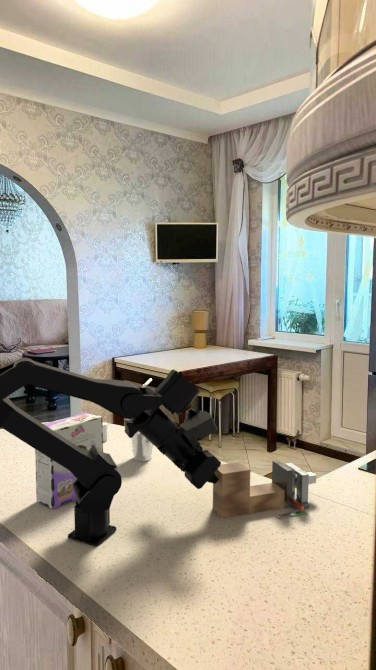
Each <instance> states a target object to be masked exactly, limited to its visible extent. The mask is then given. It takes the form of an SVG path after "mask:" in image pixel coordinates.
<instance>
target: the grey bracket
mask: <svg viewBox="0 0 376 670" xmlns="http://www.w3.org/2000/svg"><path fill="white" fill-rule="evenodd" d="M271 465H272V467H271V468H272V469H271V471H272V472H271V483H275V484H276V485H278V486H279V487H280V488H282V489H283V490H284V491H285V504H289V503H291V502H292V503H293V504H295V505H296V506H297V507H298V508H300V509H299V510H300V511H301V510H305V508H304V506H303V505H302V504H300V503H299V502H298V501H296V500H295V499H292V487H295V488H296V487H297V475H296V474H294V475H293V470H292V469H290V468H289V467H287V466H286V465H285V463H284V462H281V461H279V459H276V460H275V459H274V460H272V464H271ZM307 473H308V474H309V485H312V484H313V485H314V484H316V483H317V474H316V473H313V472H312V471H310V472H309V471H308V472H307Z"/></svg>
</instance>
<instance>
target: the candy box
mask: <svg viewBox="0 0 376 670" xmlns="http://www.w3.org/2000/svg"><path fill="white" fill-rule="evenodd" d="M102 423H103V416H101V415H98V414H93V413H90V412H84V413H79V414H77V415H73V416H72V415H71V416H68V417H64V418H62V419H57V420H52V421H50V422H45V423H43V424H44V425H45V426H47V427H48V428H50V429H52V430H53V431H55V432H56V433H58V434H59V435H61V436H62V437H64V438H65V439H67V440H68V441H70V442H71V443H73V444H74V445H76V446H77V447H79V448H82V449H86V450H90V449H91V447H92V445H93V444H94V445H95V446H96V447H97V448H98V449H99V450H101V451H102V452H104V441H103V425H102ZM34 451H35V452H34V453H35V454H34V455H35V485H36V486H35V488H36V490H35V491H36V494H35V495H36V502H38V503H39V504H41V505H44V506H45V507H46V508H49V509H50V510H53V509H56V508H58V507H61V506H63V505H66V504H68V503H70V502H73V501H75V500H77V497H76V495H75V492H74V489H73V486H72V485H73V483H74V482H75V481H76V480H77V478H76V477H75V476H74V475H73V474H72V473H71V472H70V471H69V470H68V469H66V468H65V467H63V466H61V465H60V464H58V463H57V462H55V461H53V460H52V459H50V458H49V457H47V456H45V455H44V454H42V453H41V452H39V451H38V450H36V449H34Z"/></svg>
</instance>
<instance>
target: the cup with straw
mask: <svg viewBox="0 0 376 670" xmlns="http://www.w3.org/2000/svg"><path fill="white" fill-rule="evenodd" d="M152 381H153V379H152V378H149V379H148V380H147V381H146V382H145V383H144V384H143V385H141V387H147V386H148V385H149V384H150V383H151V382H152ZM125 420H130V419H125ZM130 440H131V447H132V454H133V460H135V461H137V462H145V461H146V462H147V461H150V460H151V459H152V455H153V447H154V445H153V444H152V443H151V442H150V441H149V440H147V439H146V438H145V437H144V436H143V435H142V434H141V433H140V432H139V431H138V432H137V433H136V434H135V435H134V436H133V437H132V438H130Z"/></svg>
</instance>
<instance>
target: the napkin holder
mask: <svg viewBox="0 0 376 670" xmlns="http://www.w3.org/2000/svg"><path fill="white" fill-rule="evenodd" d="M102 425H103V442H108V439H109V438H108V437H109V434H108V433H109V432H108V427H109V426H108V425H109V424H108V422H102Z"/></svg>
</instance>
